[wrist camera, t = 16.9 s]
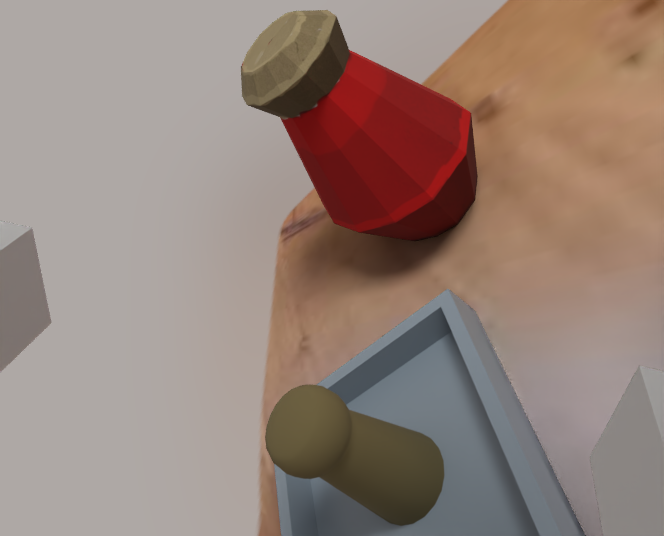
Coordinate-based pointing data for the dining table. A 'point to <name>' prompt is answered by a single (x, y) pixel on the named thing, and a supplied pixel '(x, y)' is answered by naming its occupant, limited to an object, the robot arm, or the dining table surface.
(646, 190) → the dining table surface
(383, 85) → the bottle
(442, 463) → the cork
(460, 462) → the tray
